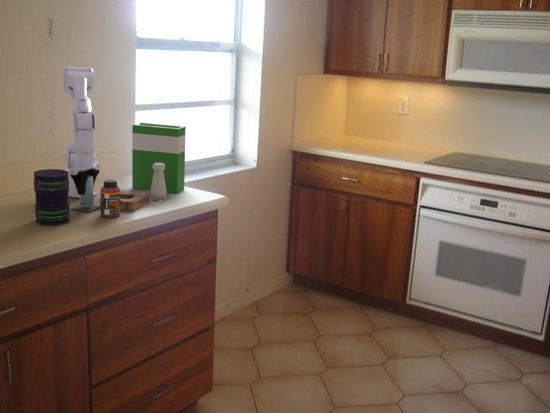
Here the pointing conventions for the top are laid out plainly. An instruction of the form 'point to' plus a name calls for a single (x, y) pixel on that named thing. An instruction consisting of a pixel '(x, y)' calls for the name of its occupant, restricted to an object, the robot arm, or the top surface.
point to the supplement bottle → (110, 199)
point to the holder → (132, 201)
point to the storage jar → (51, 197)
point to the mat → (85, 208)
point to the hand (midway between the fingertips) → (85, 192)
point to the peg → (88, 193)
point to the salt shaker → (158, 182)
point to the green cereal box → (158, 155)
